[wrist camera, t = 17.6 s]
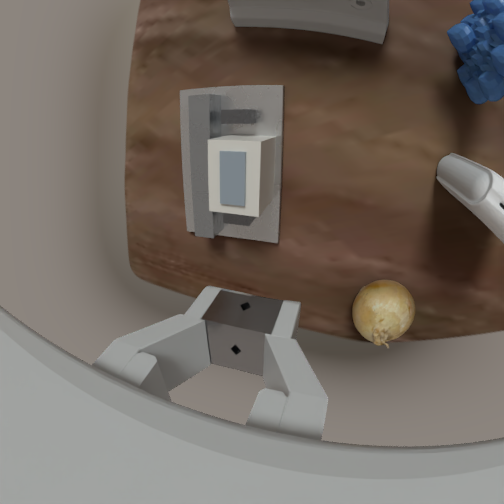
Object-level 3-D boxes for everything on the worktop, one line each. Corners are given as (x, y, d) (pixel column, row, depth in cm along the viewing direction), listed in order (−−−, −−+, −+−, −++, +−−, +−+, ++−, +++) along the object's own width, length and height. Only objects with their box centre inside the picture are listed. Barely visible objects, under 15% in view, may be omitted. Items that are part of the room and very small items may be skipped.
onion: (342, 284, 35) (340, 320, 29) (400, 260, 31) (410, 294, 25) (365, 328, 37) (364, 366, 31) (417, 308, 33) (426, 345, 27)
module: (276, 136, 28) (260, 141, 23) (273, 199, 32) (257, 218, 26) (231, 134, 30) (206, 140, 24) (231, 194, 33) (208, 212, 28)
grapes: (427, 2, 16) (461, -43, 6) (479, 22, 15) (529, -6, 4) (427, 92, 22) (475, 82, 12) (480, 111, 20) (541, 116, 10)
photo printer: (504, 198, 23) (560, 242, 13) (487, 226, 25) (535, 279, 15) (447, 145, 24) (502, 166, 13) (429, 177, 26) (473, 214, 15)
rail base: (284, 86, 26) (276, 82, 23) (279, 240, 35) (271, 254, 31) (183, 90, 29) (165, 89, 26) (190, 228, 38) (175, 240, 34)
